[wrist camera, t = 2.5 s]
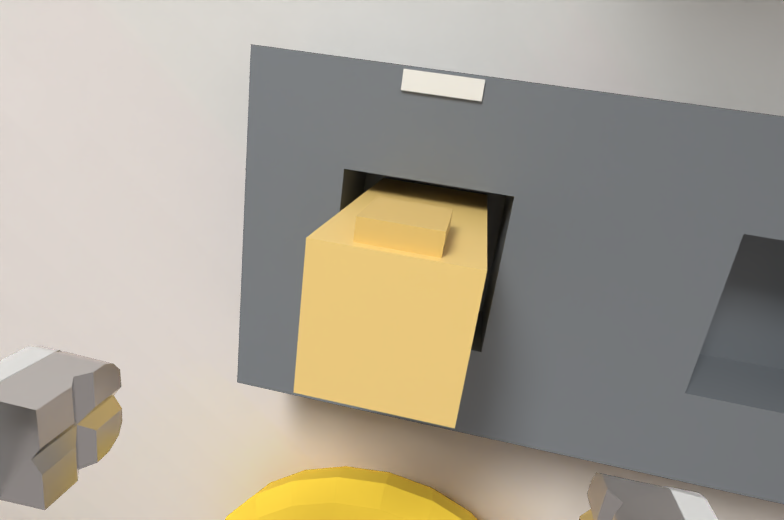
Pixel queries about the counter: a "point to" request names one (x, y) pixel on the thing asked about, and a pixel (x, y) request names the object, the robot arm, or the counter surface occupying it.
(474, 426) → the jack panel
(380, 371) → the plug
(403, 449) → the counter surface
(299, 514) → the yellow round knobbed piece
